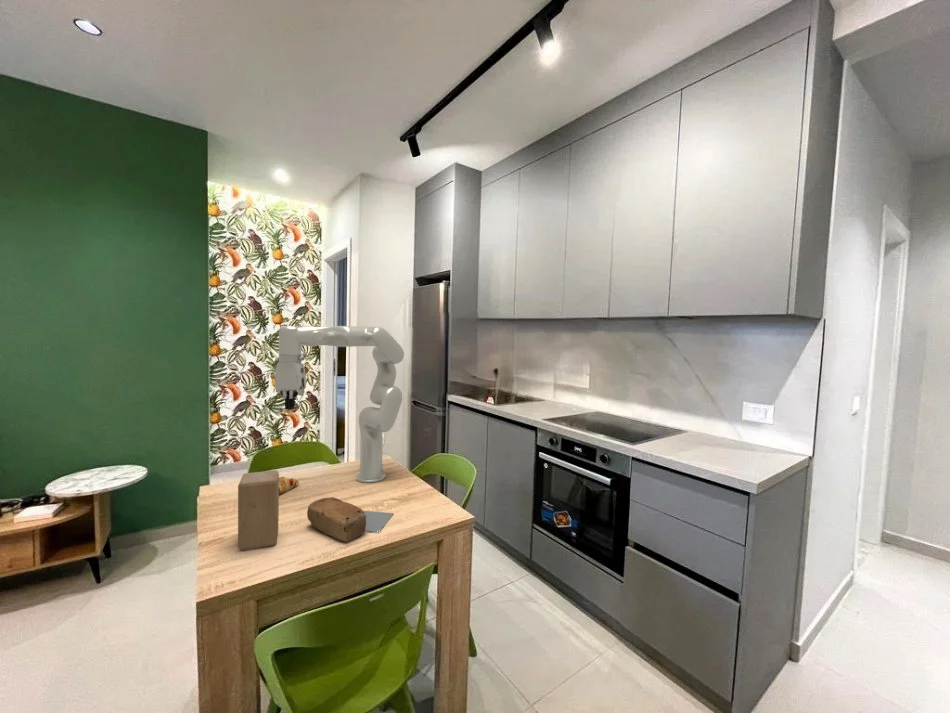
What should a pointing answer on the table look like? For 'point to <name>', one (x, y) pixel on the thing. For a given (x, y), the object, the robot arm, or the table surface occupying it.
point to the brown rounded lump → (337, 518)
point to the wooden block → (258, 509)
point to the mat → (376, 520)
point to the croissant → (287, 484)
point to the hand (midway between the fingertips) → (289, 408)
